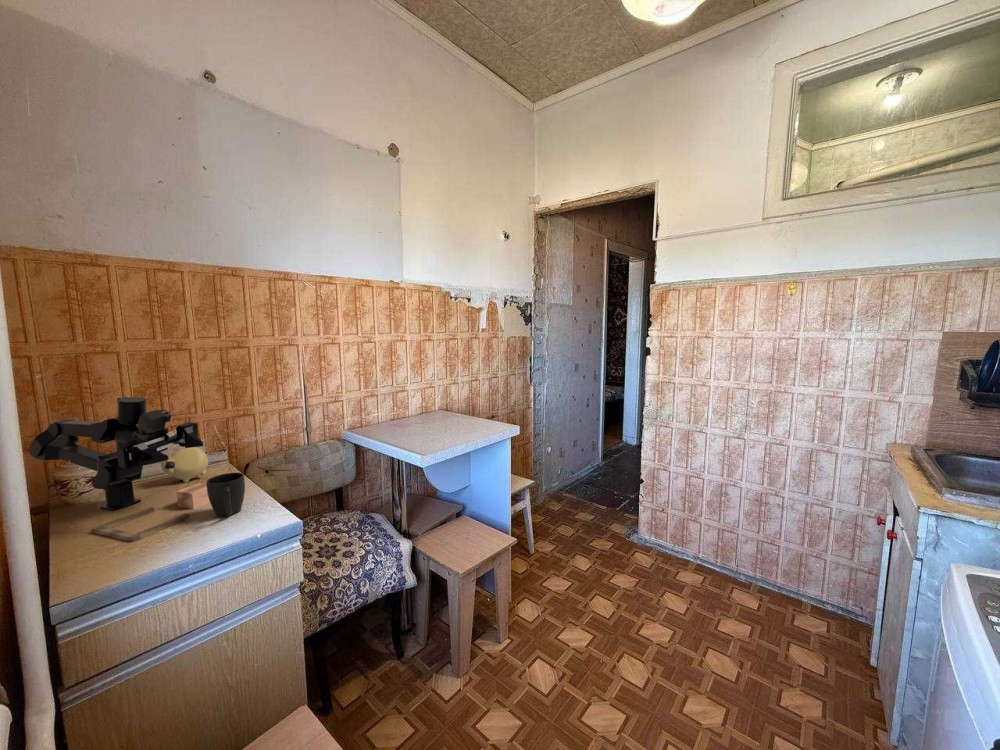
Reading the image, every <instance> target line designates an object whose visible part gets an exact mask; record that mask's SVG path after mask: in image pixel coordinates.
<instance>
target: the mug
mask: <svg viewBox="0 0 1000 750" xmlns="http://www.w3.org/2000/svg"><path fill="white" fill-rule="evenodd" d="M205 484H207V493H208V497H209V501H210V503H209V504H210V505H211V507H212V509H213V512H214V513H215V516H216V517H218V518H228V517H232V516H235V515H237V514H238V513H240V512H241V511H242V506H243V504H244V503H243V502H244V499H245V492H246V490H245V489H246V483H245V475H244V473H242V472H229V473H222V474H219V475H215V476H213V477H210V478H207V480H206V481H205Z"/></svg>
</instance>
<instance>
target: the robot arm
mask: <svg viewBox="0 0 1000 750" xmlns="http://www.w3.org/2000/svg"><path fill="white" fill-rule="evenodd" d="M116 402H117V416H116V417H111V418H107V419H105V420H104V419H103V421H97V420H96V421H95V420H77V419H66V420H59V421H55V422H53V423H50V424H49V425H48V427H47V429H45V430H44V431H42V432H41V433H39V434H38V435H36V436H35V437H34V438H33V440H32V441H31V444H30V445H29V446H28V453H29V455H30V456H31V457H32V458H34V459H35V460H37V461H46V462H47V461H48V462H49V461H58V460H60V461H64V462H67V463H69V460H70V462H71V463H70V464H73V465H75V466H78V467H82V468H86V469H87V470H91V471H95V472H97V473H96V474H95V476H94V477H93V479H92V480H91V484H92V486H93V488H94V489H97V490H104V497H105V503H104V504H101V505H99V508H100V509H105V510H110V511H116V510H120V509H124V508H125V507H129V506H131V505H134V504H137V503H139V502H141V501H142V499H141V498H135V493H134V486H133V485H134V484H133V481H134V482H135V481H137V480H140V479H142V474H143V469H144V468H143V466H146V465H147V466H148V465H151V464H156V463H161V462H162V461H166V460H169V457H170V456H169V455H167V454H165V453H163V452H164V451H167V450H168V449H169V448H170V447H173V446H176V445H179V447H182V448H191V447H197V448H200V447H204V441H203V440H202V439H200V438H199V434H198V433H199V429H198V424H197V423H196V422H194V421H189V422H185V423H182V424H179V425H177V426H176V431H175V432H176V434H174V435H171V436H169V435H168V433H169V428H168V427H165V426H166V424H167V423H169V422H171V420H172V419H171V418H172V413H171V412H170V411H168V410H166V409H165V410H163V409H155V410H151V411H148V412H147V398H146V397H145V396H144V397H143V396H139V397H138V396H137V397H136V396H135V397H133V396H131V397H130V396H129V397H127V396H121V397H117V398H116ZM79 437H83V438H90V440H91V441H92V442H96V443H97V444H98V443H99V444H105V443H110V442H115V445H116V451H114V452H111V453H110V452H109V453H105V452H101V451H98V450H94V449H92V448H89V447H85V446H82V445H79V444H77V443H78V441H79V440H80V438H79Z"/></svg>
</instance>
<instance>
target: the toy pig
mask: <svg viewBox="0 0 1000 750" xmlns="http://www.w3.org/2000/svg"><path fill="white" fill-rule="evenodd" d="M168 457H169V460H166V461H161V462H160V467H161V470H162V472H164V473H165V474H167V475H170V476H172V477H174V478H175V479H177V480H182V481H183V483H188V482H189V481H190V480H191V479H194V478H196V477H198V476H205V475H206V473H207V471H206V469H207V468H208V465H209V458H208V456H207V454H206V453H205V451H204V450H203V449H202V448H200V447H191V448H185V447H183V448H182V449H179V450H177V451H176V452H174V453H173V454H172V455H170V456H168Z"/></svg>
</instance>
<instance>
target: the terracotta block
mask: <svg viewBox="0 0 1000 750" xmlns="http://www.w3.org/2000/svg"><path fill="white" fill-rule="evenodd" d="M176 499H177V506H178V507H180V508H187V509H190V510H195V509H198V508H200V507H202V506H204V505H208V504H211V503H210V501H209V497H208V493H207V484H206V483H201V482H200V483H199V482H198V483H196V484H193V485H190V486H188V487H185V488H182V489H180V490H176Z"/></svg>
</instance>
